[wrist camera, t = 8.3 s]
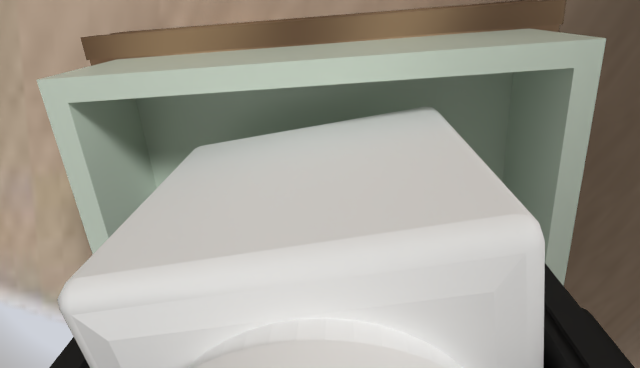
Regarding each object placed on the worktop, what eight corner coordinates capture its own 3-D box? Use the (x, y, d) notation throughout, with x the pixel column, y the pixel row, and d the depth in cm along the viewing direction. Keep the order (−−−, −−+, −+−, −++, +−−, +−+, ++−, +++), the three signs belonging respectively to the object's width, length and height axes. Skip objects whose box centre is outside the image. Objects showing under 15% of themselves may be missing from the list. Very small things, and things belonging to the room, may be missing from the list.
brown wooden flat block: (525, 0, 16) (566, -1, 13) (496, 287, 21) (521, 331, 18) (122, 32, 17) (80, 37, 14) (186, 300, 22) (164, 344, 19)
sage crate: (529, 28, 13) (606, 38, 10) (498, 318, 18) (543, 404, 14) (116, 59, 14) (36, 79, 10) (183, 329, 18) (143, 413, 15)
